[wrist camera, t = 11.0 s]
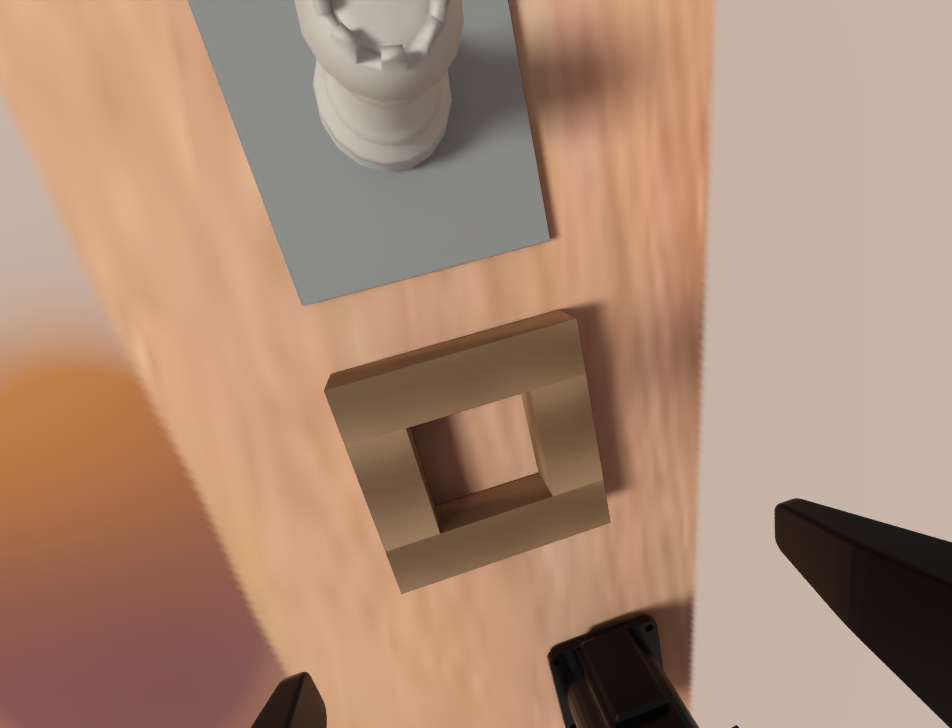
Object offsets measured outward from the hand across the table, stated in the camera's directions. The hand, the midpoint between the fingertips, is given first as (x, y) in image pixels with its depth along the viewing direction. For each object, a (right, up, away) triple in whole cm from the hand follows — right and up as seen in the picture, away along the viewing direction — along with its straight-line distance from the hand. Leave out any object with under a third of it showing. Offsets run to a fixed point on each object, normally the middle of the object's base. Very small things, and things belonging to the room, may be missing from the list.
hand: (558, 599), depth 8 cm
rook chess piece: (-5, +13, +8) cm, 16 cm away
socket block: (-2, +1, +12) cm, 12 cm away
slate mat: (-5, +14, +8) cm, 16 cm away
